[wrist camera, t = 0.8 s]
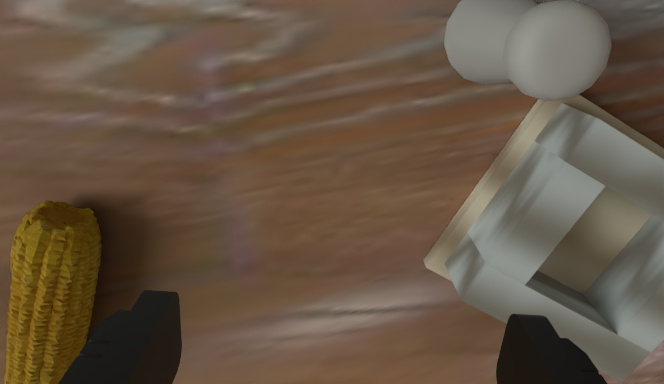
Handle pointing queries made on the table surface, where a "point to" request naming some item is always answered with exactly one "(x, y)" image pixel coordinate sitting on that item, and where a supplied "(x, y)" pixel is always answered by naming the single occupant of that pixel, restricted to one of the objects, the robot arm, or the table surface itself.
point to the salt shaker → (529, 45)
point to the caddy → (567, 233)
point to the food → (51, 291)
